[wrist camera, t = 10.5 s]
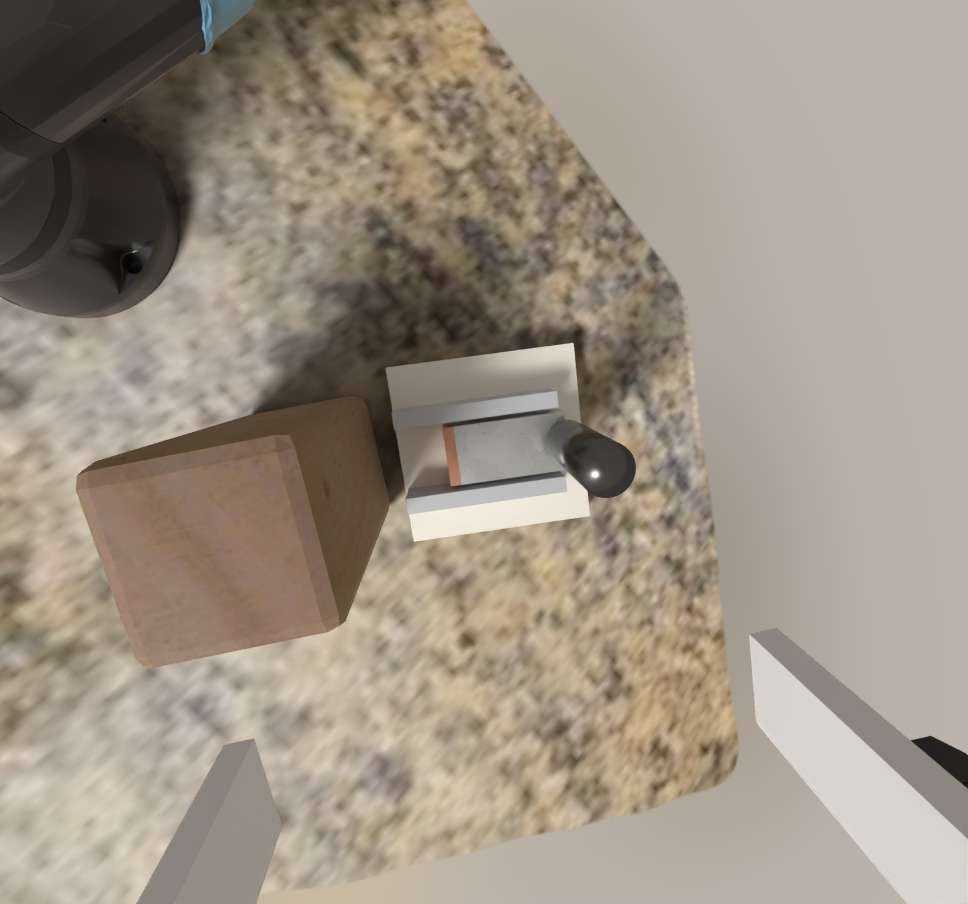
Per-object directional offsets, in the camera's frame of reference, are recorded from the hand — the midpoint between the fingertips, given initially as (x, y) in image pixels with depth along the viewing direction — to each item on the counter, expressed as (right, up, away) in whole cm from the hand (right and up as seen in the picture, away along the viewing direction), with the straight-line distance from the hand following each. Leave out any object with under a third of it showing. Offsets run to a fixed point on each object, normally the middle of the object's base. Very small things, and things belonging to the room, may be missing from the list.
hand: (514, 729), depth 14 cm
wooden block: (-14, +6, +29) cm, 33 cm away
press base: (0, +8, +29) cm, 31 cm away
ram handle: (+2, +8, +27) cm, 28 cm away
